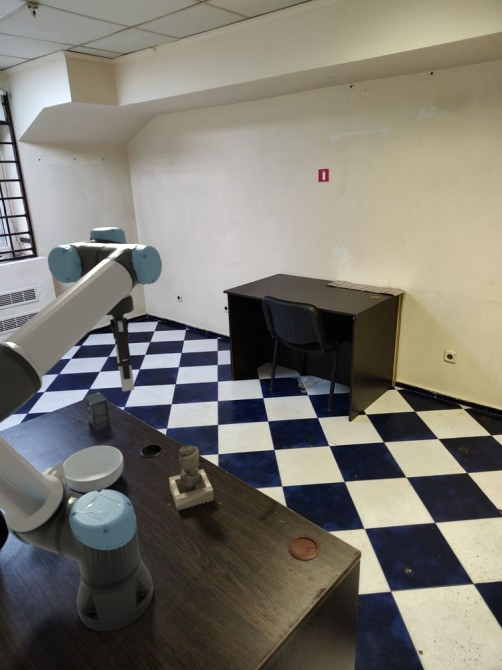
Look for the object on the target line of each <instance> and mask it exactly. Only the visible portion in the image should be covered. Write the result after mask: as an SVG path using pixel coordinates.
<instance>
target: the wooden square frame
mask: <svg viewBox="0 0 502 670" xmlns="http://www.w3.org/2000/svg"><path fill="white" fill-rule="evenodd" d="M199 474H200V476H199V481H198V483H197V484H196V490H194V491H190V492H186V488H185V486H184V485H183V484H182V482H181V478H180V474H179V475H173V476H170V477H168V481H169V483H168V484H169V488H170V492H171V495H172V497H173V501H174V505H175V507H176V510H177V511H181V510H185V509H188V508H191V507H192V508H193V507H195V505H196V506H199V505H203V504H206V503H205V502H207V503H210V502H213V501H212V500H214V501H215V498H214V489H213V487H212V484H211V482H210V480H209V478H208V476H207V474H206V472H205V469H204V468H202V469H199ZM209 501H210V502H209ZM202 503H203V504H202ZM198 504H199V505H198Z"/></svg>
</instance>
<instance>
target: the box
mask: <svg viewBox="0 0 502 670" xmlns="http://www.w3.org/2000/svg"><path fill="white" fill-rule="evenodd" d="M84 399H85V400H84V401H85V407H86V411H87V412H86V413H87V418H88V419H87V420H88V422H89V423H90V425H91V426H92V427H93V429H94V430H96V431H97V430H100V429H104V428H106V427H109V426H111V419H110V413H109V406H108V400H107V398H106V397H105V396H104V395H103V394H102V393H101V392H100V391H97V392H95V393H90V394H87V395H85V396H84Z"/></svg>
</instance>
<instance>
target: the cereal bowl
mask: <svg viewBox="0 0 502 670" xmlns="http://www.w3.org/2000/svg"><path fill="white" fill-rule="evenodd" d="M63 468H64V471H65V476H66V481H67V487H68V488H69V489H70V490H71V489H72V491H73V490H74V492H75V491H76V492H79V493H85V494H87V493H89V492H92V491H97V492H100V491H101V490H103V489H106V488H108V487H110V486H112V485H113V484H115V482H117V481H118V479H119V478H120V476H121V475H122V472H123V470H124V456H123V453H122V452H121V451H120V449H118V448H117V447H113V446H110V445H94V446H89V447H87V448H83V449H81V450H78V451H77V452H75V453H73V454H71V455H70V456H69V457H68V458H67V459H65V461H64V462H63Z"/></svg>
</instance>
